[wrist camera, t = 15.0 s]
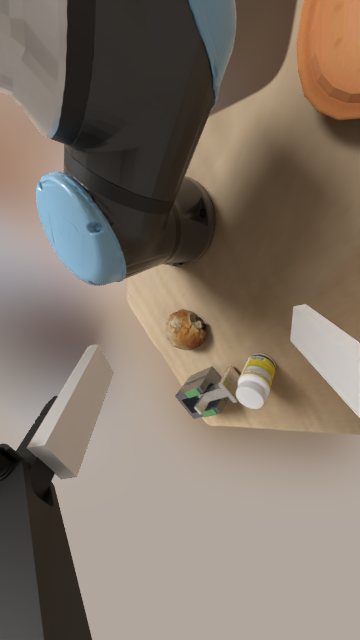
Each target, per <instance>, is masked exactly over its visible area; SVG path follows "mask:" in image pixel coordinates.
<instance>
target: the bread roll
mask: <svg viewBox="0 0 360 640" xmlns="http://www.w3.org/2000/svg"><path fill="white" fill-rule="evenodd" d="M166 334H167V339H168V341H169V342H170V343H171V344H172V346H174V347H177V348H180V349H182V350H193V349H195V348H197V347H198V346H200V345H201V344H202V343H203V342H204V341H205V338H206V325H205V324H204V322H203V321H202V320H201V319H200V317H198V316H197V315H196V314H194V313H192V312H189V311H187V310H183V309H182V310H180V311H178V312H175V313H173V314H171V315H170V317H169V319H168V321H167V323H166Z"/></svg>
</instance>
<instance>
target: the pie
mask: <svg viewBox="0 0 360 640" xmlns="http://www.w3.org/2000/svg"><path fill="white" fill-rule="evenodd" d="M297 59H298V73H299V77H300V80H301V84H302V88H303V92H304V95H305V97H306V98H307V99H308V101H309V102H310V103H311V104H312V105H313V106H314V107H315V108H316V110H317V111H318V112H320V113H322V114H325V115H327V116H329V117H332V118H334V119H336V120H348V119H360V0H305V2H304V4H303V9H302V15H301V21H300V27H299V33H298V39H297Z"/></svg>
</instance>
